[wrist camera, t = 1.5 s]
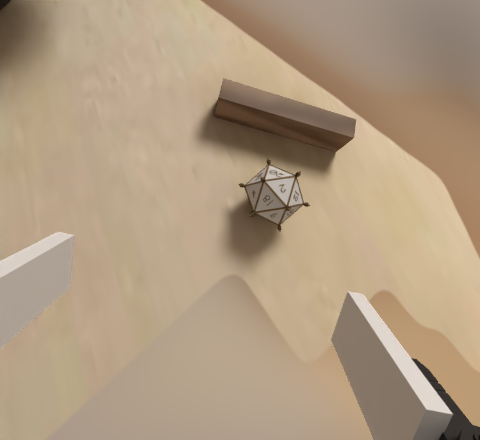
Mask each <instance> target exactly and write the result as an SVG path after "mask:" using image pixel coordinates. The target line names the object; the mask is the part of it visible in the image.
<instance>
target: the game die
mask: <svg viewBox="0 0 480 440" xmlns="http://www.w3.org/2000/svg"><path fill="white" fill-rule="evenodd" d="M270 161H271V160H269V158H268V159H267V164H268V165H267V166H266V167H265V168H264V169H263V170H262V171H260V172H259V173H258V174H257V175H256V176H255V177H254V178H253V179H251V180H250V181H249V182H248V183H247V184H246V185H244V184H242V183H241V184H239V186H240V187H244V188H245V190H246V193H247V196H248V199H249V202H250V204H251V207H252V210H253V211H252V212H251V213H250V217H253V216H254V214H256V215H258V216H260V217H262V218H264V219H266V220H268V221H270V222H272V223H274V224H276V225H278V227H277V228H278V230H279V231H281V226H280V224H282V223H283V222H284V221H285V220H286V219H287V218H289V217H290V216H291V215H292V214H293V213H294V212H296V211H297V210H298V209H299V208H300V207H301V206H302V205H304V206H306V207H307V206H310V205H309V204H308V203H304V201H303V198H302V194H301V191H300V187H299V183H298V180H297V177H299V175H300V173H301V172H297V173H296V174H295V175H294V174H291V173H289V172H287V171H284V170H282V169H280V168H277V167H275V166H273V165H270V163H271V162H270Z"/></svg>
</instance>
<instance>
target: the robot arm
mask: <svg viewBox="0 0 480 440" xmlns="http://www.w3.org/2000/svg"><path fill="white" fill-rule="evenodd" d="M9 1H10V0H0V9H1V8H2V7H3V6H5V5H6V4H7V3H8V2H9ZM73 245H74V235H71V234H66V233H61V232H56V233H54V234H52V235H50V236H48V237H46V238H44V239H43V240H41V241H39V242H37V243H35V244H33V245H31V246H29V247H27V248H25V249H23V250H21V251H19V252H17V253H15V254H13V255H11V256H9V257H7V258H5V259H3V260H1V261H0V349H1V348H2V347H3V346H4V345H5V344H6V343H7V342H9V341H10V340H11V339H12V338H13V337H14V336H16V335H17V334H18V333H19V332H20V331H21V330H22V329H24V328H25V327H26V326H27V325H28V324H29V323H31V322H32V321H33V320H34V319H35V318H36V317H37V316H39V315H40V314H41V313H42V312H43V311H44V310H45V309H47V308H48V307H49V306H50V305H51V304H52V303H54V302H55V301H56V300H57V299H58V298H59V297H60V296H62V295H63V294H64V293H65V292H66V291H67V290H69V289H70V284H71V271H72V258H73ZM331 340H332V342H333V345H334V347H335V350H336V352H337V354H338V357H339V359H340V361H341V364H342V366H343V368H344V371H345V373H346V375H347V378H348V380H349V382H350V385H351V387H352V389H353V392H354V394H355V396H356V399H357V401H358V404H359V406H360V408H361V410H362V413H363V415H364V418H365V420H366V422H367V425H368V427H369V429H370V432H371V434H372V436H373V439H374V440H480V427H478V426H474V425H472V424H471V423H470V422H469V420H468V419H467V418H466V416H465V415H464V414H463V412H462V411H461V410H460V409H459V407H458V406H457V405H456V404H455V402H454V401H453V400H452V399H451V397H450V396H449V395H448V394H447V393H446V392H445V390H444V388H443V387H442V386H441V385H440V384H439V383H438V381H437V379H436V378H435V377H434V376H433V375H432V373H431V372H430V371H429V370H428V369H427V368H426V367H425V366H424V365H423V364H421V363H420V362H419V361H418V360H417V359H413V358H410V356H409V355H408V354H407V352H406V351H405V350H404V348H403V347H402V346H401V344H400V343H399V342H398V340H397V339H396V338H395V336H394V335H393V334H392V333H391V331H390V330H389V328H388V327H387V326H386V324H385V323H384V322H383V320H382V319H381V318H380V316H379V315H378V314H377V312H376V311H375V310H374V308H373V307H372V306H371V304H370V303H369V302H368V300H367V299H366V297H365V296H364V295H363V294H359V293H354V292H350V291H348V292H347V295H346V298H345V301H344V304H343V307H342V309H341V312H340V315H339V318H338V321H337V324H336V327H335V330H334V333H333V336H332V339H331Z"/></svg>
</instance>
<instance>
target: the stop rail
mask: <svg viewBox="0 0 480 440" xmlns="http://www.w3.org/2000/svg"><path fill="white" fill-rule="evenodd" d="M214 117H217V118H221V119H224V120H228V121H231V122H235V123H238V124H242V125H245V126H249V127H252V128H256V129H259V130H263V131H266V132H270V133H273V134H276V135H280V136H283V137H287V138H290V139H294V140H297V141H301V142H304V143H308V144H311V145H315V146H318V147H322V148H325V149H329V150H332V151H336V152H337V151H338V150H339V149H340V148H342V147H343V146H344V145H346V144H347V143H348V142H349V141H351V140H352V139H353V138H354V133H355V125H356V119H353V118H350V117H347V116H343V115H340V114H337V113H334V112H330V111H327V110H324V109H321V108H318V107H314V106H311V105H308V104H305V103H301V102H298V101H295V100H292V99H289V98H285V97H282V96H279V95H276V94H272V93H269V92H266V91H263V90H260V89H256V88H253V87H250V86H247V85H243V84H240V83H237V82H234V81H231V80H227V79H224V78H223V82H222V86H221V90H220V94H219V98H218V102H217V106H216V111H215V115H214Z"/></svg>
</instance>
